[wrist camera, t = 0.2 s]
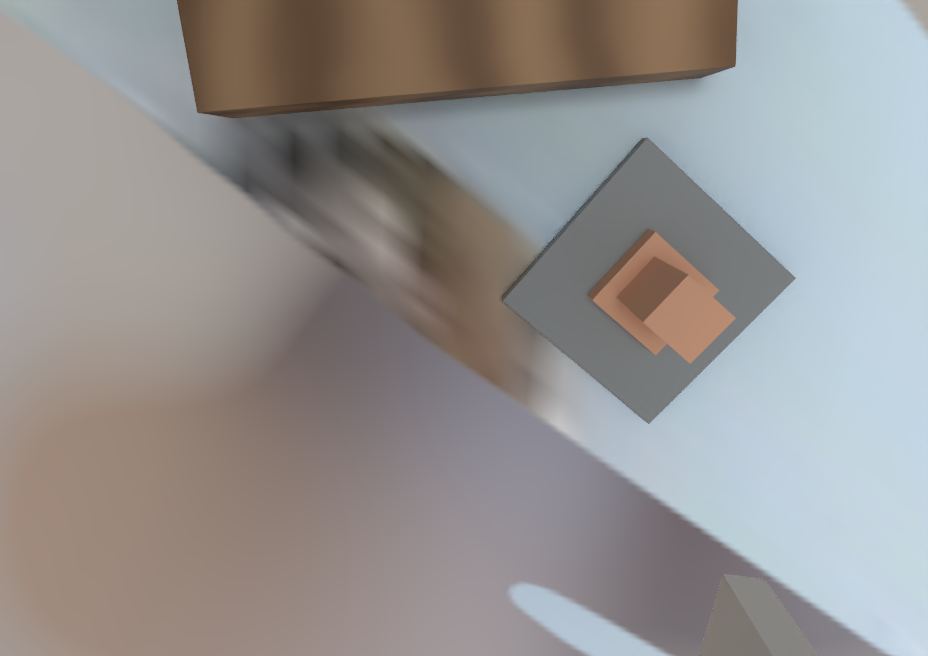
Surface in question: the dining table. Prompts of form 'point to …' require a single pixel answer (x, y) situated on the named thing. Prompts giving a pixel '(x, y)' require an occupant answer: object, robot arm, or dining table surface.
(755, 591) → the robot arm
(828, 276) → the dining table surface
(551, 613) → the dining table surface
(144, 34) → the dining table surface
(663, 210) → the fulcrum
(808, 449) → the dining table surface
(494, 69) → the bar
